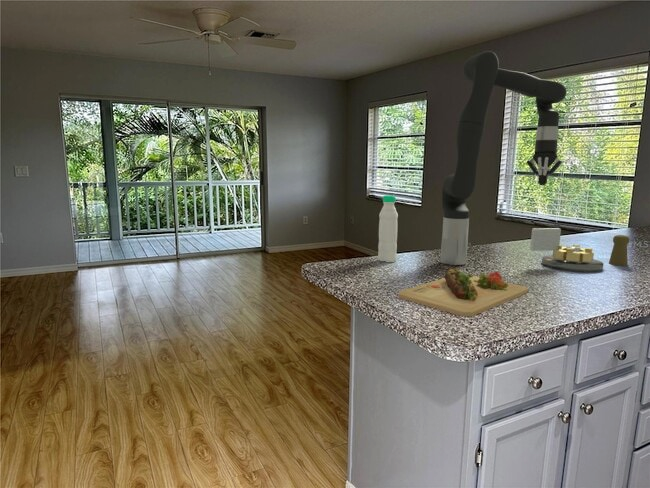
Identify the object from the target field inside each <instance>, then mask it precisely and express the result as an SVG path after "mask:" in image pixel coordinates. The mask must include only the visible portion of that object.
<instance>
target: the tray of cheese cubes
mask: <svg viewBox="0 0 650 488" xmlns="http://www.w3.org/2000/svg"><path fill="white" fill-rule="evenodd" d="M566 247H567V248H573V249H574V252H580V248H581V246H580V247H575V246H573V245H572V246H571V245H567V246H566ZM567 248H566V249H567ZM541 265H542V266H544V267H547V268H550V269H554V270H559V271H563V272H564V271H566V272H572V273H597V272H601V271H603V270H604V262H602V261H601V260H597V259H595V258H593V261H589V262H581V261H579V262H575V261H566V260H560V259H557V258H554V257H553V254H552V255H551V254H549V255H544V256H541Z"/></svg>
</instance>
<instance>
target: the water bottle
mask: <svg viewBox="0 0 650 488" xmlns="http://www.w3.org/2000/svg"><path fill="white" fill-rule="evenodd" d="M382 203H383V205H382V208H381V210H380V212H379V214H378V215H379V220H378V221H379V222H378V246H377V250H378V254H377V260H378V261H379V260H380V261H379V262H381V261H388V262H387V263H394V262H393V261H395V262H396V261H397V255H398V254H397V250H398V245H397V243H398V218H399V214H398V212H397V209H396V207H395V203H396V196H395V195H383V196H382Z"/></svg>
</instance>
